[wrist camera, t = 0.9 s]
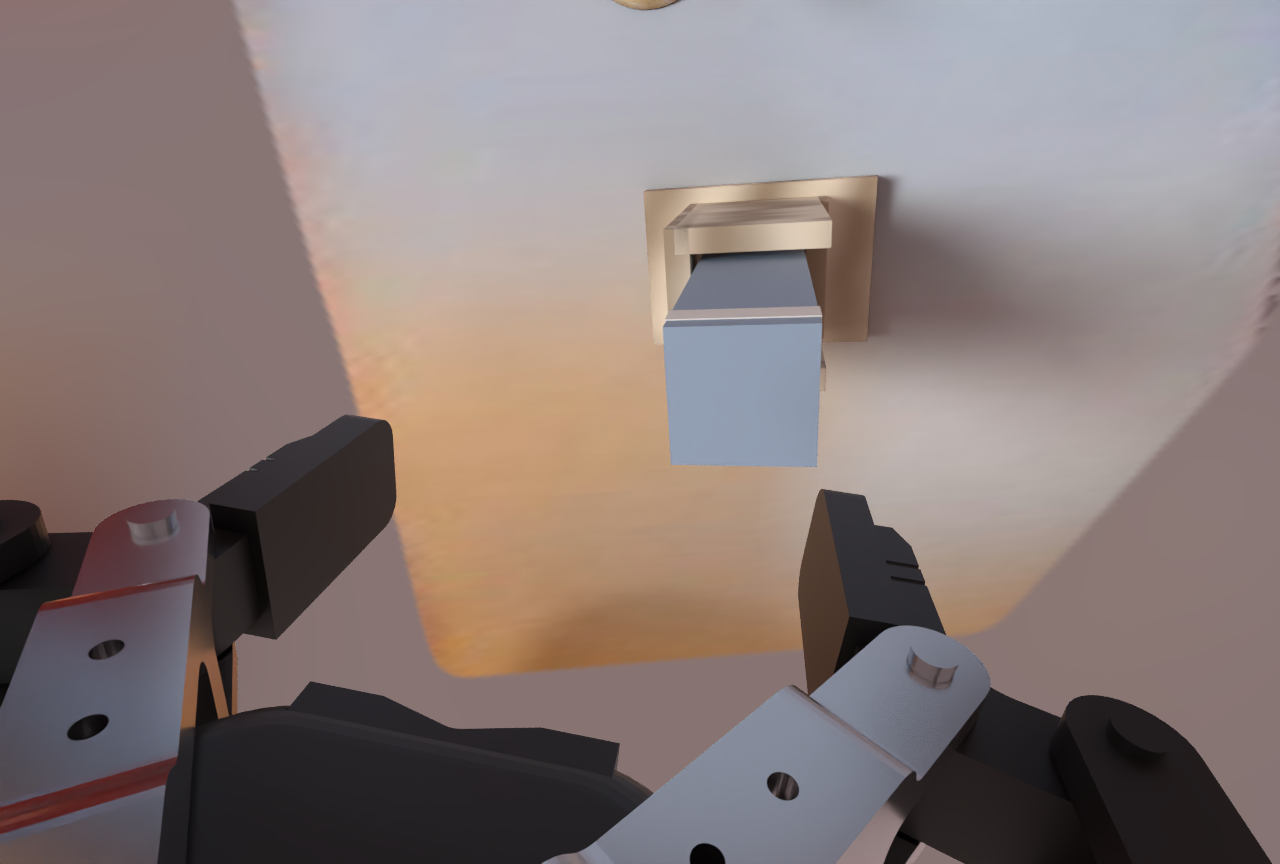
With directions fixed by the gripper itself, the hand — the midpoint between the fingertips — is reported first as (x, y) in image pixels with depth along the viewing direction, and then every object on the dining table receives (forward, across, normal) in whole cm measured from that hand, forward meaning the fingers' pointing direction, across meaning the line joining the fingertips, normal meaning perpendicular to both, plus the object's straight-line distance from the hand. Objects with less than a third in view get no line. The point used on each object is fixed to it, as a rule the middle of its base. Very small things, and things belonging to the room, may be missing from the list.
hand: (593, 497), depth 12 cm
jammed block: (+24, -3, +1) cm, 25 cm away
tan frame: (+34, -3, +1) cm, 35 cm away
